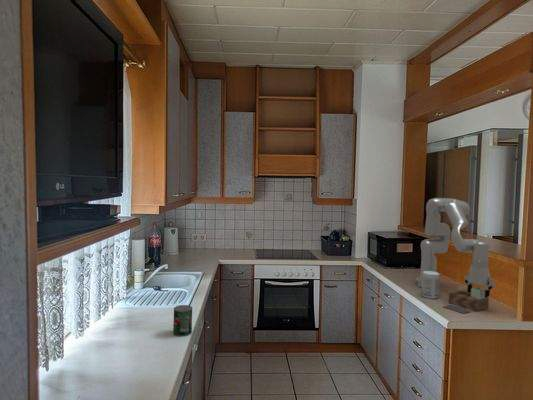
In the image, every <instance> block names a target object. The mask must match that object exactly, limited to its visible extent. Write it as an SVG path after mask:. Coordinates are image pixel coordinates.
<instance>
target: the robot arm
mask: <svg viewBox="0 0 533 400" xmlns="http://www.w3.org/2000/svg"><path fill="white" fill-rule="evenodd" d="M425 210H426V211H425V212H426V218H425V227H424V235H426V237H429V238H426V239H423V240H422V241H421V242H420V251H421V253H420V254H421V256H420V257H421V261H420V263H421V264H420V273H419V274H420V277H418V276H417V277H416V278H415V281H417V286H418V287H420V288H422V276H423V272H424V271H433V272H437V268H438V267H437V264H438V260H437V257H436V255H435V254H445V253H446V252H448V250H449V247H450V246H449V245H450V237H451V241H452V244H453V247H455V249H456V251H458V252H459V253H472V259H470V263H471V264H470V267H469V270H468V274H466V275H464V276H463V280H464V282H465V283H466V286H468V288H467V290H468V293H470V292H471V288H473V285H477V286H479V287H480V286H481V287H484V289H485V297H488V298H489V297H490V295H491V293H490V292H491V290H492V289H493V288H494V287H495V286H496V282H494V281H493V280H492V279H491V274H490V269H489V267H488V266H489V254H490V251H489V250H490V244H489V243H488V242H487V241H481V240H479V239H477V238H476V239H473V238H463V236H462V235H461V230H462V229H464V228H466V227H467V226H468V224H469V221H468V219H467V217H466V216H468V215H469V214H470V212H471V207H470V205H469V203H467V202H466V201H463V200H459V199H457V198H452V197H451V198H450V197H448V198H447V197H433V198H430V199H428V201H427V202H426V206H425ZM440 212H445V213H446V215H447V217H448V218H449V221H450V223H451V226H452V229H451V228H450V226H449V224H447V223H445V222H441V214H440Z"/></svg>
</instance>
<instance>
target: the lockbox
mask: <svg viewBox="0 0 533 400" xmlns="http://www.w3.org/2000/svg"><path fill="white" fill-rule="evenodd" d="M448 295H449V296H448V304H449V305H453V306H456V307H459V308H462V309H466V310H469V311H471V312H480V311H483V310H486V309H489V303H490V301H489V300H490V298H489V297H485V298H483V299H476V298H473V297H471V294H466V293H463V292H459V291H458V290H456V291H452V292H449V294H448Z"/></svg>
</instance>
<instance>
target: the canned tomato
mask: <svg viewBox="0 0 533 400" xmlns="http://www.w3.org/2000/svg"><path fill="white" fill-rule="evenodd" d="M192 327H193V306H192V305H188V304H187V305H186V304H185V305H184V304H181V305H176V306H174V307H173V328H172V329H173V330H172V331H173V332H172V334H173V336H176V337H187V336H190V335H191V334H192V333H193V332H192V331H193V330H192Z"/></svg>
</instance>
